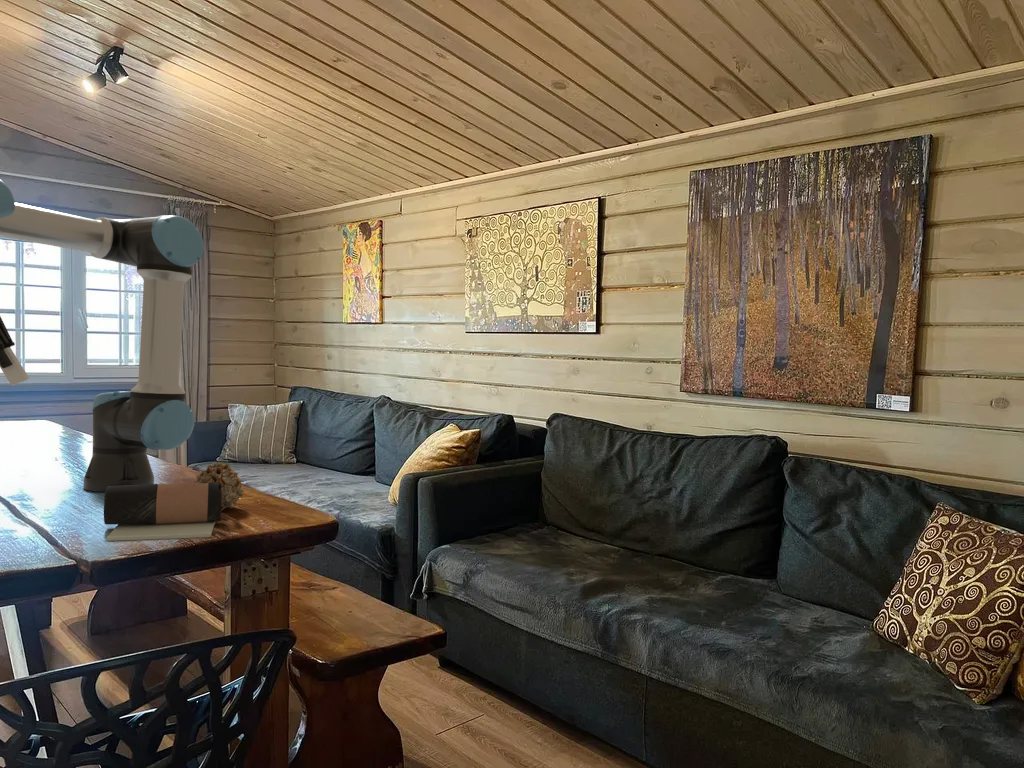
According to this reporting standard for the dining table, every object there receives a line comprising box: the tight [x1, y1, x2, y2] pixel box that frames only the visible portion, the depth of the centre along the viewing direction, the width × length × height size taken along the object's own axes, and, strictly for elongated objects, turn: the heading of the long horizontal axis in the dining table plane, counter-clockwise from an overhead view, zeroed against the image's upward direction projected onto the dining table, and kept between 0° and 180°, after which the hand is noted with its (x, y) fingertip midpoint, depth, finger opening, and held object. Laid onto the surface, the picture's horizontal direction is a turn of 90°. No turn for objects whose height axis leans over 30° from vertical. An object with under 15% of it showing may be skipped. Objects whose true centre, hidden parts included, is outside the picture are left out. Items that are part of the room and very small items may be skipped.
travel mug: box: [103, 482, 222, 526], centre depth 141 cm, size 8×8×20 cm
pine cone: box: [194, 461, 245, 512], centre depth 155 cm, size 22×10×10 cm, turn 38°
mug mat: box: [106, 521, 216, 542], centre depth 138 cm, size 17×13×1 cm
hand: (20, 382), depth 136 cm, fingers closed
